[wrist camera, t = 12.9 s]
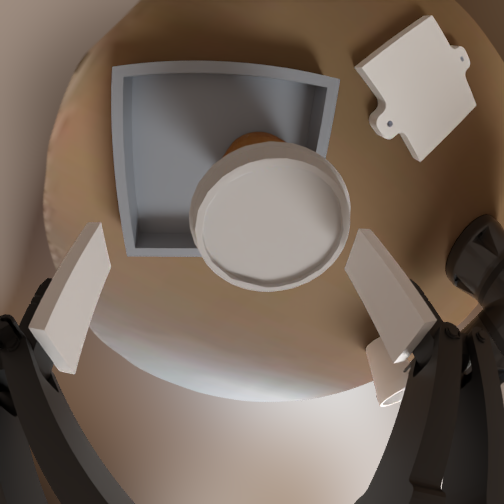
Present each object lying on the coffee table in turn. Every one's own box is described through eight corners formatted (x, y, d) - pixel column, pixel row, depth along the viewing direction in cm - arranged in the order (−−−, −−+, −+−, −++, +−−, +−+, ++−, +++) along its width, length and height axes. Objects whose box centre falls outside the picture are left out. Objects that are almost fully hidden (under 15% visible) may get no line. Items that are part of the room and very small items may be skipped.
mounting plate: (431, 9, 15) (442, 8, 13) (474, 93, 21) (484, 96, 20) (335, 81, 21) (343, 82, 20) (397, 168, 28) (406, 175, 26)
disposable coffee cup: (185, 159, 23) (150, 226, 14) (268, 93, 20) (299, 108, 11) (249, 225, 28) (258, 316, 19) (326, 173, 25) (380, 244, 15)
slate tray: (324, 77, 21) (340, 79, 18) (293, 238, 31) (302, 256, 28) (125, 67, 18) (112, 66, 15) (134, 237, 28) (127, 256, 25)
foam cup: (351, 351, 50) (372, 406, 40) (388, 325, 47) (415, 379, 36) (370, 359, 55) (390, 407, 44) (402, 336, 51) (427, 384, 41)
